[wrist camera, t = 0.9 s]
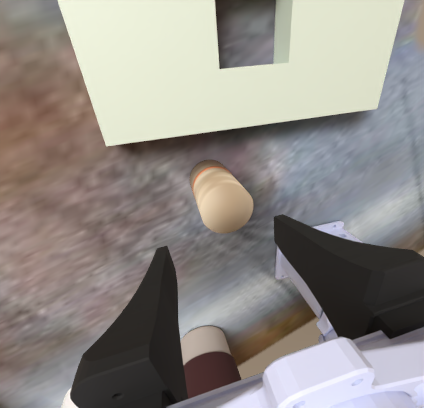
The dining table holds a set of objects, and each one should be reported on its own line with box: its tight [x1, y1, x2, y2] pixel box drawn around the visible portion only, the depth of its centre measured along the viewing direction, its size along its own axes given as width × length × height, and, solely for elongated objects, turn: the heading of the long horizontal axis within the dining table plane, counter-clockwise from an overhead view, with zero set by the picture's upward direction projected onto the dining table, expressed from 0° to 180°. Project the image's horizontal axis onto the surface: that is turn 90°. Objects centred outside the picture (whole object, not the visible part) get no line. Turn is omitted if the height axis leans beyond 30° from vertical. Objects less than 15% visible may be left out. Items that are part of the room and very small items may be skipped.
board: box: [58, 0, 404, 146], centre depth 15 cm, size 24×14×2 cm, turn 95°
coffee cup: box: [181, 326, 241, 399], centre depth 27 cm, size 10×10×15 cm
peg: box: [190, 160, 253, 233], centre depth 19 cm, size 4×4×7 cm
